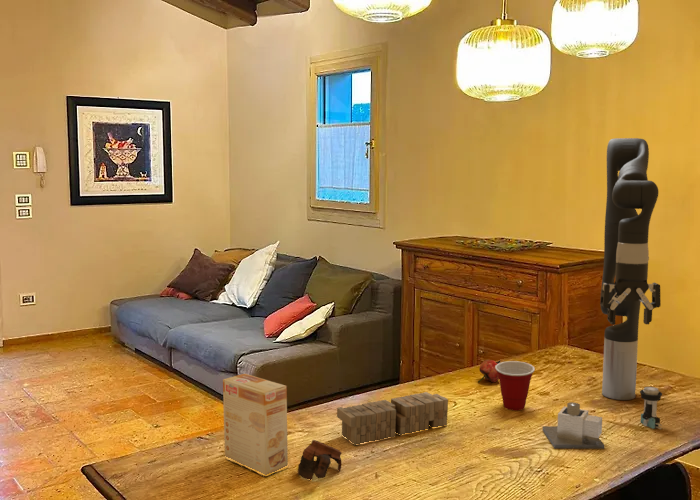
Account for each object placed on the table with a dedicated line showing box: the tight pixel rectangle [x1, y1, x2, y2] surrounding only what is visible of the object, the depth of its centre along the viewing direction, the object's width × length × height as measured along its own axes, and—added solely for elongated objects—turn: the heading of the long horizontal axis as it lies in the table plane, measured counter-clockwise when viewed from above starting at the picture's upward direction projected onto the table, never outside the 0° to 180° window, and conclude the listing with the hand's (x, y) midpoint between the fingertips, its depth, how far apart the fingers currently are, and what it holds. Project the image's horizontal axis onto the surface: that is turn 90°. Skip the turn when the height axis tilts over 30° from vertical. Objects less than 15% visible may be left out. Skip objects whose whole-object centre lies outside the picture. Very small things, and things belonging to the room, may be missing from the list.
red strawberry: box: [477, 359, 501, 383], centre depth 227 cm, size 7×7×10 cm
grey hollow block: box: [557, 405, 603, 441], centre depth 179 cm, size 10×6×6 cm, turn 59°
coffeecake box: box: [222, 373, 289, 475], centre depth 165 cm, size 15×7×20 cm, turn 47°
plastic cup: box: [495, 360, 535, 412], centre depth 202 cm, size 11×11×12 cm
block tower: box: [336, 391, 449, 446], centre depth 185 cm, size 8×8×29 cm
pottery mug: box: [297, 439, 343, 481], centre depth 160 cm, size 12×10×8 cm
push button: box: [639, 386, 663, 430], centre depth 188 cm, size 7×5×10 cm
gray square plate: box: [542, 401, 605, 450], centre depth 179 cm, size 12×12×9 cm
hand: (629, 323), depth 182 cm, fingers open, 8 cm apart
